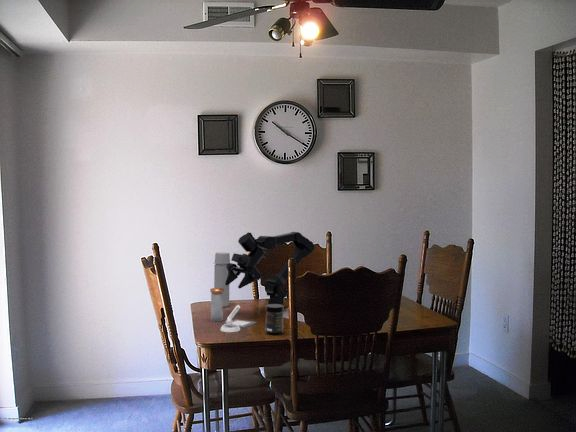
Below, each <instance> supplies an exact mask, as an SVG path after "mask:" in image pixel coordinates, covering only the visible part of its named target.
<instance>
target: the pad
mask: <svg viewBox="0 0 576 432" xmlns="http://www.w3.org/2000/svg"><path fill="white" fill-rule="evenodd" d="M232 321H233V324H237V325H239V327H240V329H246V328H248V327H251V326H253V325H255V324H257V323H258V322H257V321H251V320H245V319H244V320H243V319H236V318H235V319H232ZM225 324H227V323H226V322H225V323H222V325H225Z"/></svg>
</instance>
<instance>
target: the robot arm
mask: <svg viewBox="0 0 576 432" xmlns="http://www.w3.org/2000/svg"><path fill="white" fill-rule="evenodd" d="M237 243H238V244H239V246H241V248H242V249H243V251H245V252H246V253H242V254H239V253H236V252H235V253H233V254H232V257H231V258H230V261H232V262H234V263H232V262H230V263H228V265H227V266H226V268H227V270H228V277H227V280H226V283H225V285H226V286H227V285H229V286H230V285H231V283H233V282H234V281H235V280H236V279H237V278H239V277H238V276H240V275H241V274H244V276H243V278H242V279H241V281H240V283H239V284H238V286H237V288H238V289H240V290H241V289H242V288H243V287H245V286H248V285H250V284H251V283H255V282H257V281H260V280H261V278H262V273H261V272H260V271H259V270H258V269H257V268H258V267H259V262H260V261H261V259H262V258H263V259H264V258H265V259H268V254H267V253H268V252H267V251H265V250H272V249H275V248H276V247H277V246H279V245H281V244H286V243H292V245H294V251H293V253H292V255H291V256H290V257H289V259H290V258H294V259H295V260H296V263H297V266H299V264H300V262H302V260H303V259H305V258H306V257H309V256H310V255H311V254H312V253H313V252H314V250H315V244H314V242H313V241H311V240H310V239H309V238H307V237H305V236H304V235H303V234H302V233H300V232H298V231H292V232H287V233H282V234H278V235H259V236H258V237H257V238H255V237H254V235H253V234H252V232H246V234H243V235H242V236H240V237H239V238H238V241H237ZM247 253H248V254H247ZM288 278H289V277H288V260H287V261H286V262H285V263H284V265H283V266H282V268H281V269H280V270H279V271H278V273H276V274H275V275H274V274H270V275H269V277H268V278H267V279H266V280H265V283H264V285H263V286H264V291H265V293H266V296H269V298H268V304H280V305H283V312H284V311H285V310H284V300H285V298H287V296H288V291H287V290H286V289H285V286H286V281H287V280H288ZM268 304H267V305H268Z"/></svg>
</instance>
